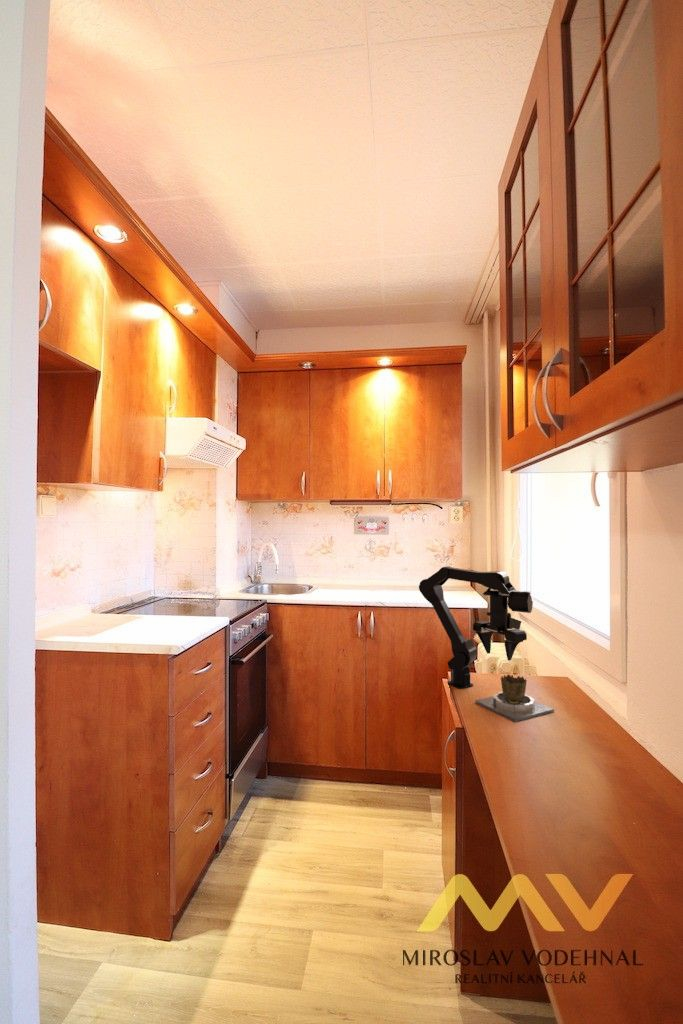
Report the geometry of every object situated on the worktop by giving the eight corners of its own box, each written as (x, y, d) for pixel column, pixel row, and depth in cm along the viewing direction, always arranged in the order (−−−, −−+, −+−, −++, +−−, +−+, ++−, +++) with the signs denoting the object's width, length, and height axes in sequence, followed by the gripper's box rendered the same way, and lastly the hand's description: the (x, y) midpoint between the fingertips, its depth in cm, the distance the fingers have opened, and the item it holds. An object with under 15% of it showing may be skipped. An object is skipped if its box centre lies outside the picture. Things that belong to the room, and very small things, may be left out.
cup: (528, 703, 147) (528, 677, 148) (523, 711, 141) (523, 683, 141) (504, 698, 151) (504, 672, 152) (498, 705, 145) (498, 679, 145)
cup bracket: (475, 702, 150) (475, 693, 150) (512, 694, 157) (512, 685, 157) (515, 722, 135) (515, 712, 135) (553, 711, 143) (553, 702, 143)
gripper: (538, 612, 154) (538, 660, 154) (495, 603, 171) (495, 647, 170) (513, 615, 149) (513, 665, 149) (471, 605, 166) (471, 651, 165)
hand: (498, 656), depth 158 cm, fingers open, 9 cm apart
